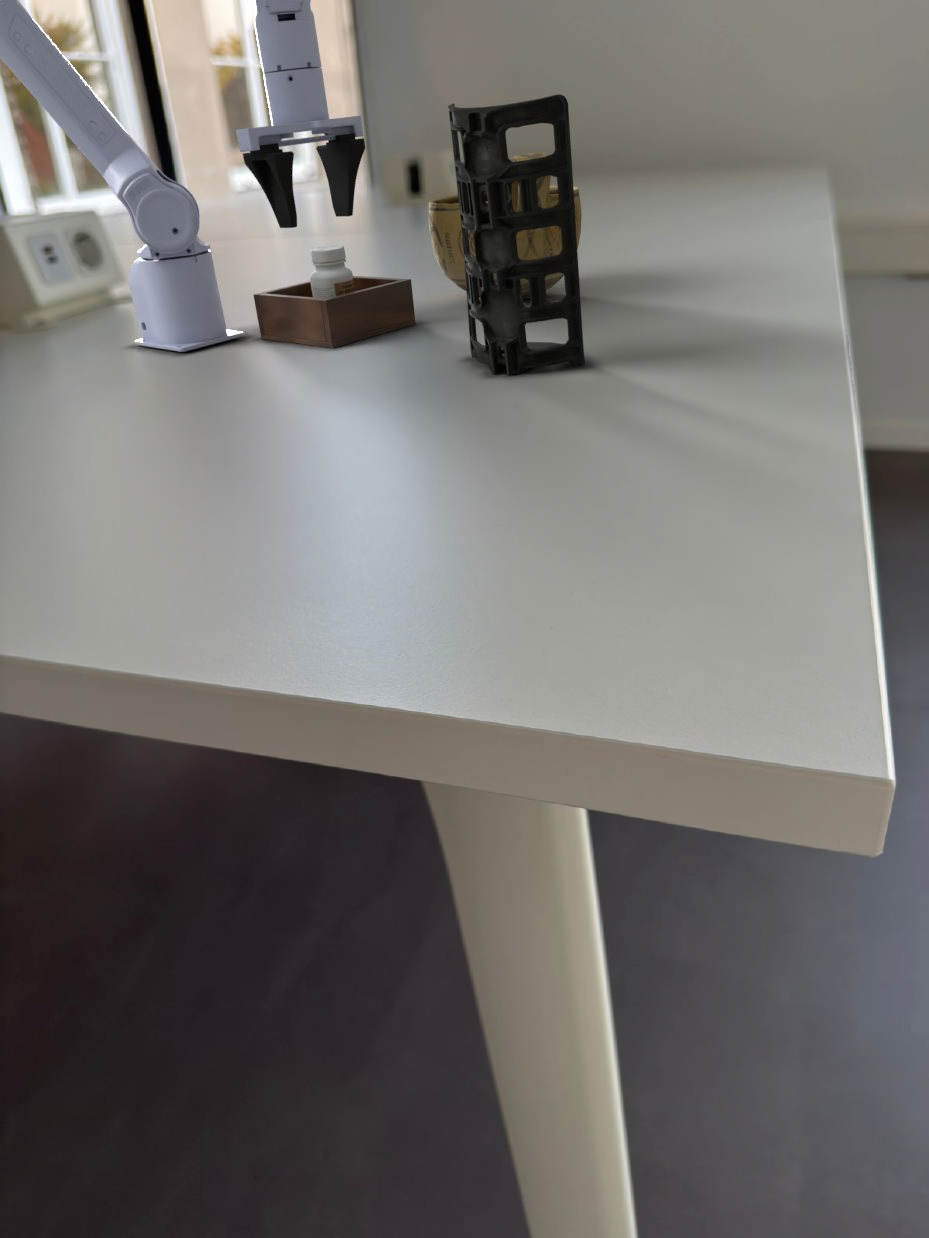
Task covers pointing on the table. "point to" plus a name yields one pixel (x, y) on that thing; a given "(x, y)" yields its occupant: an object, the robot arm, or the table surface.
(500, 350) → the holder
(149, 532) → the table surface
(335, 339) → the box
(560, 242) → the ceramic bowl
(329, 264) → the pill bottle
